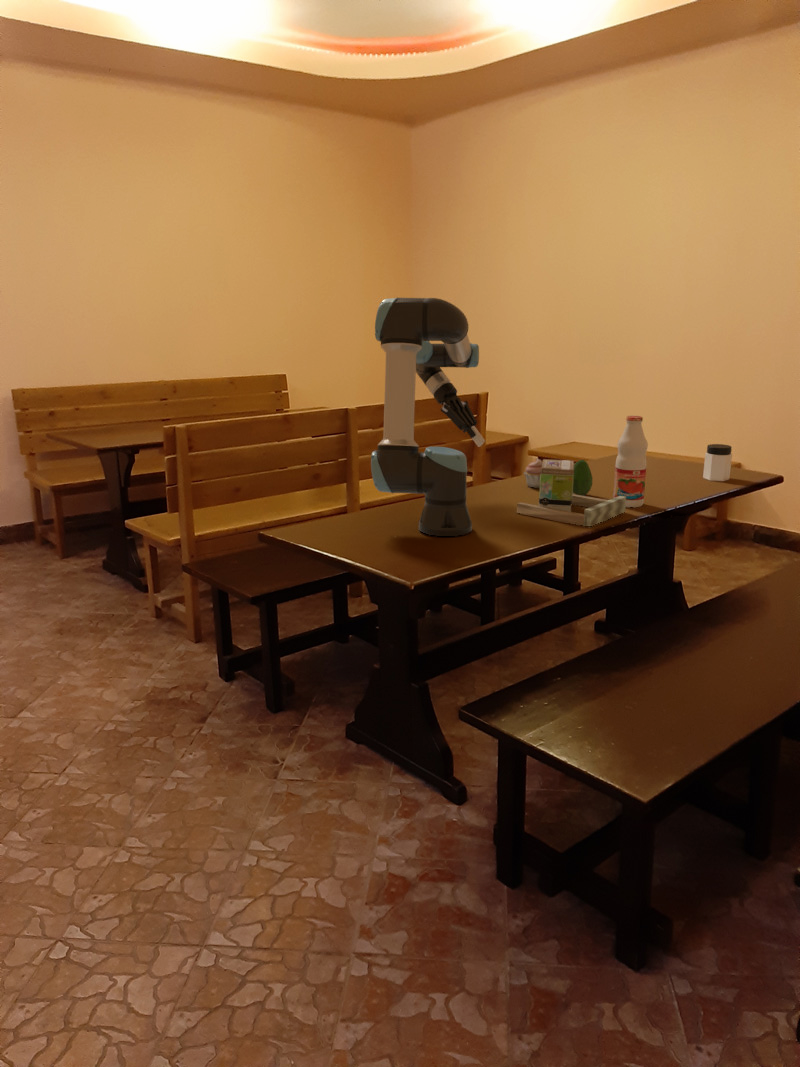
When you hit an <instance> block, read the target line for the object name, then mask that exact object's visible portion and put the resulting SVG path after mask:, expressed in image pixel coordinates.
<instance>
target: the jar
mask: <svg viewBox="0 0 800 1067" xmlns="http://www.w3.org/2000/svg"><path fill="white" fill-rule="evenodd" d="M706 447H707V448H706V452H705V453H704V464H703V475H702V478H703V479H705V480H708V481H711V482H725V481H729V480H730V476H731V466H732V461H733V460H732V457H733V453H732V445H728V444H721V443H713V444H711V443H710V444H707V446H706Z"/></svg>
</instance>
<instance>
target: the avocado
mask: <svg viewBox="0 0 800 1067" xmlns="http://www.w3.org/2000/svg"><path fill="white" fill-rule="evenodd" d="M592 486H593V475H592V471H591V468H590V466H589V464H588V462H587V461H586V460H585V459H579V460H577V461H576V462H574V478H573V492H572V494H575V495H581V496H586V495H587V494H588V493H589V492H590V491H591V489H592Z"/></svg>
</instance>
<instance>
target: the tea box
mask: <svg viewBox="0 0 800 1067" xmlns="http://www.w3.org/2000/svg"><path fill="white" fill-rule="evenodd" d="M542 462H543V463H542V468H541V476H540V488H539V493H538V496H539V497H538V506H542V507H548V508H553V509H559V510H564V511H569V512H572V505H571V503H572V494H573V478H574V464H575V461H574V460H569V459H568V460H567V459H565V460H563V459H542Z"/></svg>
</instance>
